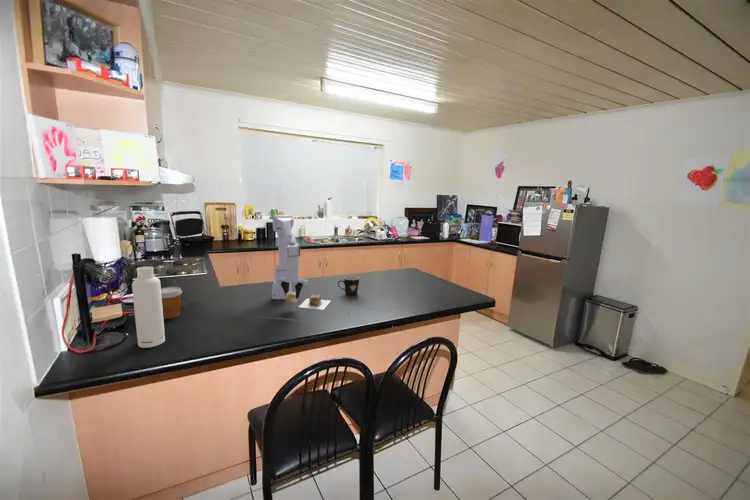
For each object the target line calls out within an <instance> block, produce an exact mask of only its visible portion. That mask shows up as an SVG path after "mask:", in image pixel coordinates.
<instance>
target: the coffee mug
mask: <svg viewBox="0 0 750 500" xmlns="http://www.w3.org/2000/svg"><path fill="white" fill-rule="evenodd" d="M340 283H343V284H344V288H343V287H341V286H340V285H339V284H340ZM359 283H360V277H359V276H355V275H347V276H346V275H345V276H344V278H343V280H339V281H338V282H337V286H338V288H339V289H341V290H343V291H344V293H345V295H346V296H348V297H354V296H357V295H358V291H359Z"/></svg>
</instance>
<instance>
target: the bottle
mask: <svg viewBox="0 0 750 500" xmlns="http://www.w3.org/2000/svg"><path fill="white" fill-rule="evenodd" d="M136 272H137V273H136V274H137V276H136V277H137V278H135V279H134V280H133V281H132V283H131V289H132V290H131V291H132V299H133V301H132V302H133V310H134V321H135V327H136V330H135V331H136V338H137V346H138V347H139V348H143V349H145V348H153V347H157V346H159V345H161V344H163V343H164V342H166V336H165V323H164V322H165V321H164V320H165V319H164V318H163V308H162V296H161V289H162V286H161V280H160V278H158V277H157V276H155V273H154V267H153V266H140V267H137V268H136Z"/></svg>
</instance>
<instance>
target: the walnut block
mask: <svg viewBox="0 0 750 500" xmlns="http://www.w3.org/2000/svg"><path fill="white" fill-rule="evenodd" d="M321 300H322V295H321V294H311V295H310V296H309V305H315V306H318V305H319V304H320V303H321Z"/></svg>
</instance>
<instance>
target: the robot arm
mask: <svg viewBox="0 0 750 500" xmlns="http://www.w3.org/2000/svg"><path fill="white" fill-rule="evenodd" d="M293 226H294V216H293V214H290V215H289V214H273V215H272V229H273V232H276V235H277V242H278V243H277V244H278V245H277V246H278V260H279V261H278V262H279V263H278V264H277V265H275V266H274V269H273V278H274V281H273V282H272V285H271V290H272V291H271V295H272V297H271V300H285V301H286V294H287V293H288V292H289V291H292V284H295V285H294V289H295V292H296V299H298V298H299V299H300V294H301V291H302V289H303V287H304V286H307V285H308V283H309V279H304V278H300V277H299V276H300V275H299V274H300V272H299V269H300V268H299V267H300V266H299V261H300V256H301V246H300V244H299V242H297V239H296V236H295V234H293V233H292V232H293V231H292V229H293Z"/></svg>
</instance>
